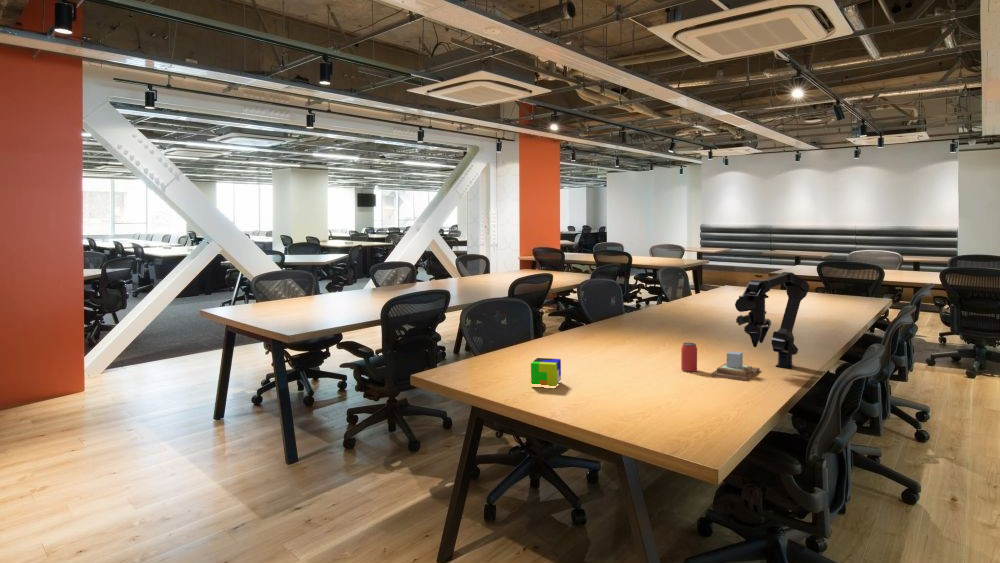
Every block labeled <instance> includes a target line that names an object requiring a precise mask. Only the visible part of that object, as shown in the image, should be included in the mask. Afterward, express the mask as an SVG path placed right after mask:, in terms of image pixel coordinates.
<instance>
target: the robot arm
mask: <svg viewBox="0 0 1000 563" xmlns="http://www.w3.org/2000/svg"><path fill="white" fill-rule="evenodd" d="M780 285H783V286H784V287H785V288H786V296H787V302H786V306H785V309H784V314H783V317H782V319H781V323H780V328H779V329H778V330H777V331H773V333H772V336H771V346H772V351H773V352H775V353H776V352H777V364H776V365H775V367H776V368H777V367H778V368H784V369H793V368H794V367H795V364H793V356H795V355H797V354H798V352H799V348H798V347H797V346H796V344H795V337H794V334H793V330H794V327H795V322H796V319H797V315H798V312H799V309H800V305H801V302H802V300H803V299H804V298H806V297H807V294H808V293H809V291H810V290H809V289H810V285H809V283H808V282H807V280H805V279H803V278H801V277H799V276H798V275H796V274H795V273H794V272H789V271H783V272H781V273H778V274H776V275H775V274H774V275H772V276H770V277H766V278H761V279H760V278H759V279H758V278H757V279H755V278H754V279H750V280H749V281H748V284H747V285H746V287H745V289H744V292H743V294H742V295H739V296H738V298H737V299H736V301H735V303H734V308H735V310H736V311H738V312H739V313H743V312H748V314H746V315H742V314H740V315H738V316H737V317H736V318H735V320H736V321H735V322H736V323H737V326H742V325H745V324H746V325H745V326H744V329H743V331H744V333H746V334H747V335H749V337H750V341H751V344H752V347H754V348H757V346H758V345H759V344H763V342H764V341H765V338H766V336H767V335H768V334H767V333H768V332H769V330H770V328H771V326H772V320H771V319H769V318H766V315H767V310H766V299H769V298H770V297H769V295H768V294H767V293H768V292H770V291H771V289H772V288H775V287H777V286H780Z"/></svg>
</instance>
